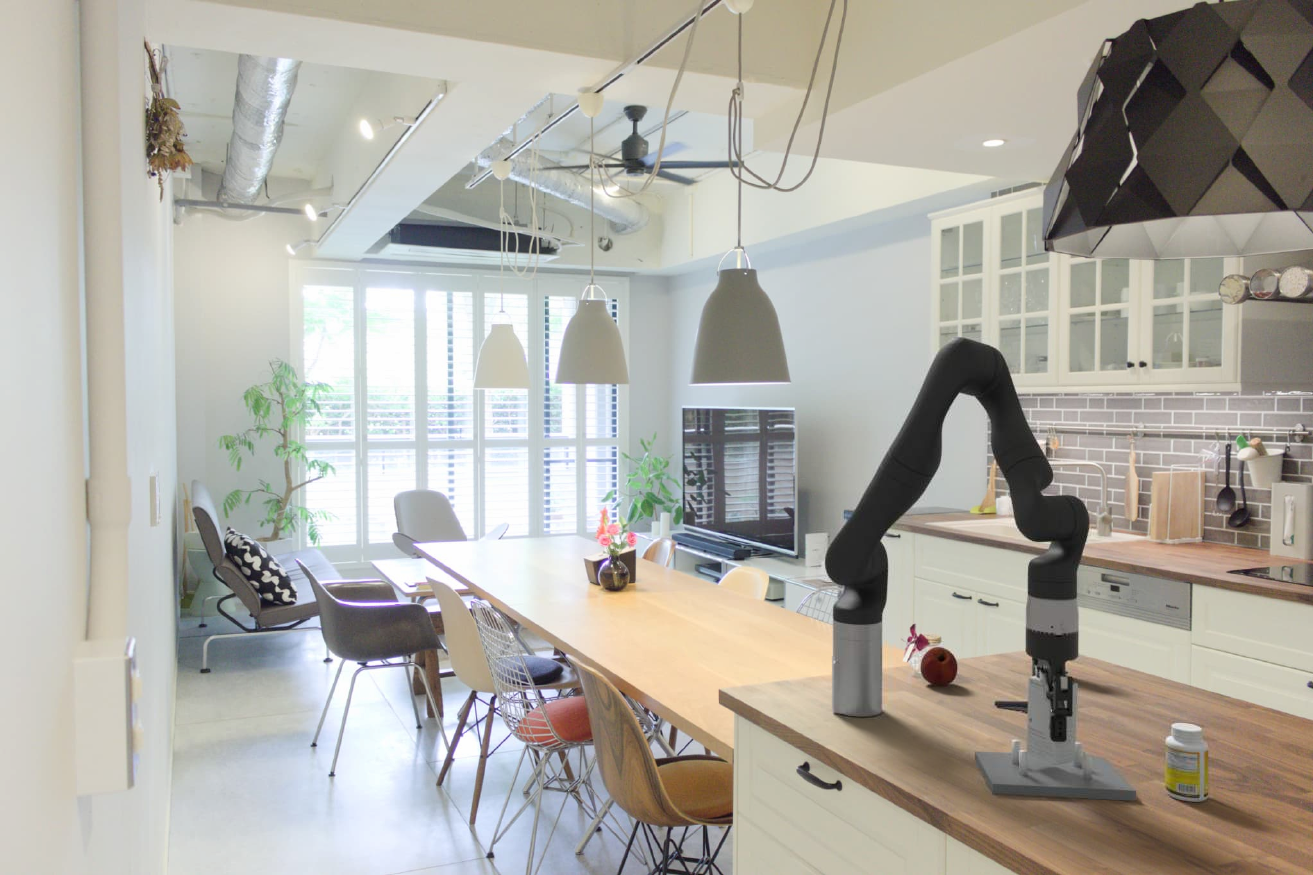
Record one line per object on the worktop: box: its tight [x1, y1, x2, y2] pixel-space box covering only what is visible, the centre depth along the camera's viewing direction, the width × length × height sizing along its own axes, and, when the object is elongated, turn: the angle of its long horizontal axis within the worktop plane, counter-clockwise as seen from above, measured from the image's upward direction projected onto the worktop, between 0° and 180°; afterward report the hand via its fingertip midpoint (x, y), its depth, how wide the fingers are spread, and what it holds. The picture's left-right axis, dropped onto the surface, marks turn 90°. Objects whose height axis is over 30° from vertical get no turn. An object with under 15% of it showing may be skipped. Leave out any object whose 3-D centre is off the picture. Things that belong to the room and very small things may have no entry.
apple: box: [919, 646, 959, 687], centre depth 201 cm, size 7×8×8 cm
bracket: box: [994, 700, 1028, 714], centre depth 179 cm, size 14×15×3 cm
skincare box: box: [1025, 676, 1079, 765], centre depth 148 cm, size 6×4×12 cm
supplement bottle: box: [1164, 722, 1209, 803], centre depth 142 cm, size 6×6×10 cm
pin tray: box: [974, 738, 1137, 802], centre depth 148 cm, size 20×14×5 cm
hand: (1051, 732), depth 148 cm, fingers closed on skincare box, 7 cm apart
